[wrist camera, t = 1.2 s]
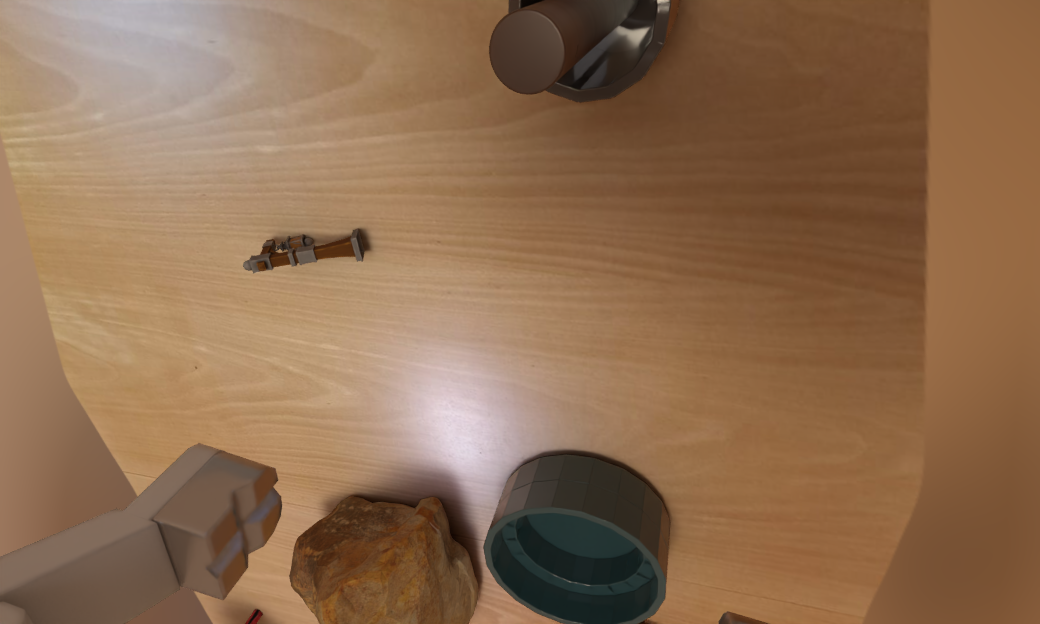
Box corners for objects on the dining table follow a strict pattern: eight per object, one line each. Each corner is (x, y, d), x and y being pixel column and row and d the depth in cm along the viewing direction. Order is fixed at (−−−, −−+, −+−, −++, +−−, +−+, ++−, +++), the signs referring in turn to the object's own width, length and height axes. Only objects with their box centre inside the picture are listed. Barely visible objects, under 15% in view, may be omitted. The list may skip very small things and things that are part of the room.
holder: (660, -100, 28) (639, -117, 19) (695, 34, 30) (689, 69, 22) (544, -42, 30) (482, -35, 22) (585, 78, 33) (543, 124, 24)
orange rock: (318, 422, 55) (193, 558, 44) (481, 473, 51) (391, 640, 39) (353, 567, 68) (264, 701, 57) (485, 618, 64) (418, 775, 52)
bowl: (640, 439, 45) (631, 501, 40) (690, 564, 51) (688, 631, 46) (480, 459, 51) (455, 514, 46) (540, 568, 56) (524, 628, 52)
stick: (631, -33, 29) (547, -6, 14) (643, 9, 30) (577, 78, 15) (593, -15, 30) (476, 28, 15) (606, 26, 30) (506, 106, 16)
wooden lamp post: (251, 234, 43) (235, 259, 39) (361, 215, 44) (355, 238, 40) (260, 256, 44) (245, 283, 40) (367, 238, 45) (362, 263, 41)
